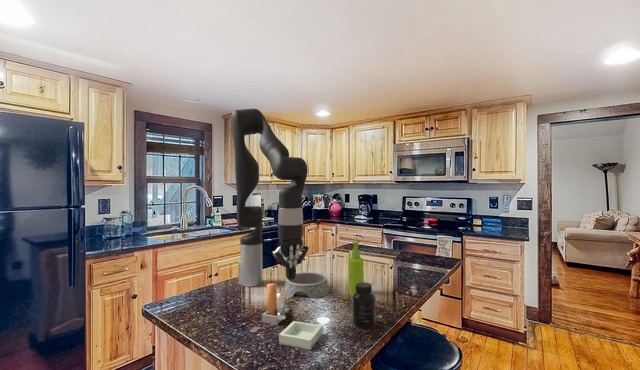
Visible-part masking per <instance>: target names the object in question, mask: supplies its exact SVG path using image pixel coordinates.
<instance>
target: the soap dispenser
mask: <svg viewBox="0 0 640 370" xmlns="http://www.w3.org/2000/svg"><path fill="white" fill-rule="evenodd" d="M360 243H362V241H361V240H354V241H353V242H352V245H353V249H351V257H349V258H348V265H347V266H348V269H347V270H348V294H349V295H352V294H354V293H355V292H356V284H357V283H360V282H365V280H364V275H365V274H364V267H365V266H364V258H362V257H361V249H359V244H360Z"/></svg>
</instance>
